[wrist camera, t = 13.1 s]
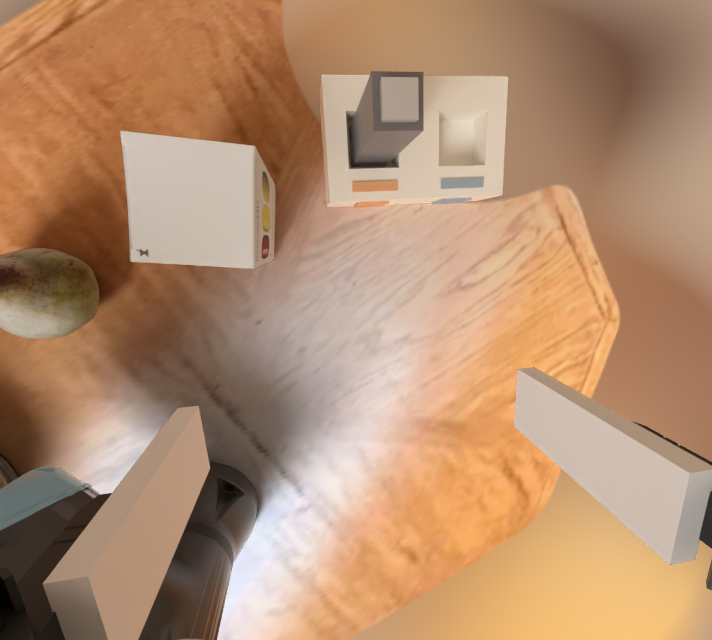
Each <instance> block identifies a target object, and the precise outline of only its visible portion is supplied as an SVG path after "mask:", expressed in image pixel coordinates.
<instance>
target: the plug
mask: <svg viewBox="0 0 712 640" xmlns="http://www.w3.org/2000/svg"><path fill="white" fill-rule="evenodd" d="M349 131H350V150H351V167H375V166H386V165H387V164H388V163H389V162H390V161H391V160H393V159H394V158H395V157H396V156H397V155H398V154H399V153H400V152H401V151H402V150H403V149H404V148H405V147H406V146H408V145H409V144H410V143H411V142H412V141H413V140H414V139H415V138H416V137H417V136H418V135H419V134H420V133H421V132H422V131H424V110H423V72H371V74H370V77H369V79H368V82H367V85H366V87H365V90H364V92H363V95H362V97H361V100H360V103H359V105H358V108H357V110H356V113H355V115H354V118H353V121H352V123H351V126H350V128H349Z"/></svg>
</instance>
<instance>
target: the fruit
mask: <svg viewBox="0 0 712 640" xmlns="http://www.w3.org/2000/svg"><path fill="white" fill-rule="evenodd" d="M98 305H99V288H98V283H97V281H96V278H95V275H94V272H93V270H92V269H91V268H90V267H89V266H88V265H87V264H86V263H85V262H83V261H82V260H80V259H78V258H76V257H74V256H71V255H69V254H66V253H64V252H61V251H59V250H54V249H48V248H28V249H24V250H19V251H15V252H11V253H6V254H2V255H0V329H1V330H4V331H6V332H9V333H11V334H14V335H17V336H21V337H26V338H36V339H38V338H55V337H61V336H65V335H68V334H71V333H73V332H74V331H76V330H77V329H79V328H80V327H82V326H83V325H85V324H86V323H88V322H89V321H90V320H91V319H92V318H93V317H94V315H95V314H96V312H97V309H98Z"/></svg>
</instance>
